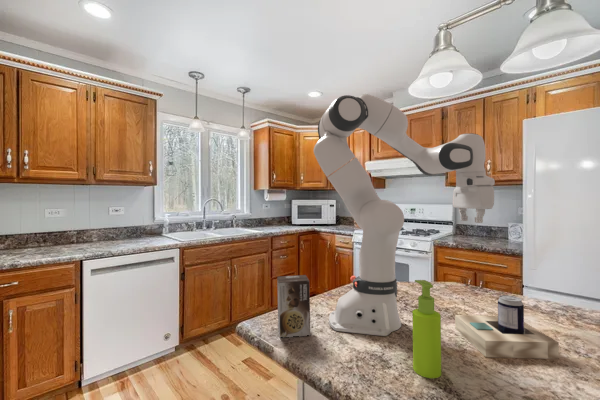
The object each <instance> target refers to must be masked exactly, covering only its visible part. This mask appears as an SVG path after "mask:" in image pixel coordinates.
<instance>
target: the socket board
mask: <svg viewBox="0 0 600 400" xmlns="http://www.w3.org/2000/svg"><path fill="white" fill-rule="evenodd" d="M454 326H455V327H454V328H455V330H456V331H458V332H459V333H460V335H461V336H463V338H465V339H466V340H467V341H468V342H469V343H470V344H471V345H472V346H473V347H474V348H476V349H477V351H479V352H480V353H481V354H482V355H483V356H484V357H485V358H504V359H505V358H506V359H507V358H508V359H509V358H510V359H511V358H512V359H543V360H544V359H547V360H550V359H552V360H560V352H559V349H560V347H559V346H560V343H559V341H557V340H556V339H554V338H552V337H550V336H549V335H548V334H546V333H543V332H541V331H540V330H539V329H537V328H535V327H533V326H532V325H530V324H528V323H527V322H525V321H524V334H502V333H501V332H500V331H498V315H486V314H485V315H475V314H469V315H468V314H455V315H454Z"/></svg>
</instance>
